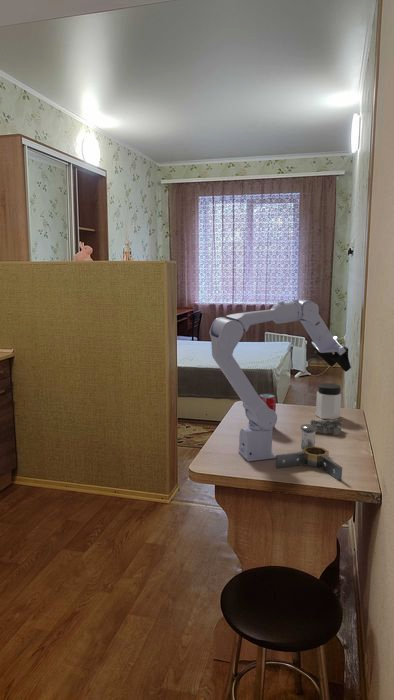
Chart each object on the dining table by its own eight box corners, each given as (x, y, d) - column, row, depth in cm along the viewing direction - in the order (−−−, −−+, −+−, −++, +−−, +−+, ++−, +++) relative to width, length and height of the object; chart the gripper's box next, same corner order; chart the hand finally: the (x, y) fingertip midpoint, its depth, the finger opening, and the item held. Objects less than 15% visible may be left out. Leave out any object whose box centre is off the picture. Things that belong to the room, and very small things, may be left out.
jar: (343, 419, 187) (345, 388, 185) (323, 420, 185) (325, 389, 183) (331, 412, 196) (333, 382, 194) (312, 413, 194) (314, 383, 192)
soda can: (276, 431, 172) (277, 397, 170) (257, 431, 173) (258, 397, 171) (273, 425, 179) (275, 393, 177) (256, 425, 179) (257, 392, 177)
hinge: (298, 486, 130) (299, 473, 130) (270, 462, 145) (271, 451, 145) (351, 478, 135) (352, 466, 135) (318, 456, 150) (319, 445, 150)
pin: (304, 452, 153) (306, 430, 152) (296, 446, 158) (297, 425, 157) (319, 450, 155) (320, 428, 154) (310, 445, 160) (311, 423, 158)
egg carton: (342, 430, 176) (343, 419, 175) (339, 437, 169) (340, 425, 168) (311, 426, 180) (312, 415, 179) (308, 432, 173) (308, 421, 172)
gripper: (343, 328, 144) (364, 363, 149) (316, 322, 158) (336, 354, 162) (325, 343, 143) (347, 378, 148) (299, 336, 157) (320, 368, 161)
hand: (340, 366), depth 155 cm, fingers open, 7 cm apart
